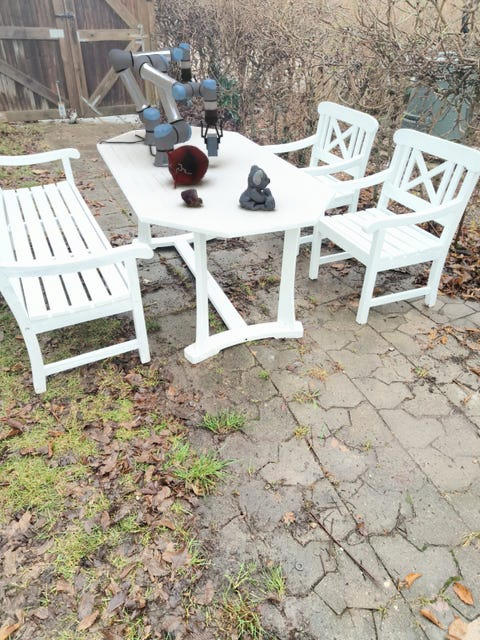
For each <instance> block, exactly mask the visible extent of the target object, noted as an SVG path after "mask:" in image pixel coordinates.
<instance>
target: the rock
mask: <svg viewBox="0 0 480 640" xmlns="http://www.w3.org/2000/svg"><path fill="white" fill-rule="evenodd" d="M180 197H181V200H182V201H183V202H184V203H185V205H187V206H189V207H191V206H192V207H193V206H201V205H203V204H204V202H203V199H202V197H199V195H198V190H197V189H196V188H188V189H185V190H181V192H180Z"/></svg>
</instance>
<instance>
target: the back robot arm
mask: <svg viewBox="0 0 480 640" xmlns="http://www.w3.org/2000/svg"><path fill="white" fill-rule="evenodd" d="M148 54H162V55H163V56H164V57H165V58H166V59H167V61H168V62H179V63H180V75H179V74H177V76H176V79H175V80H176V81H178V82H180V83H182V84H183V83H191V82H198V79H197V78H196V77H197V76H196V75H195V74H193V75H192V68H191V67H192V66H191V65H192V64H191V48H190V44H189V43H179V44H178V46H177V47H176V46H173V47H172V46H166V47H164V48H163V49H153V50H144V51H132V50H123V49H121V48H113V49H111V50H110V51H109V52H108V56H107V60H108V63H109V64H110V65H111V67H112V68H113V70H114V72H115V74H116V75H118V76H119V78H120V79H121V81H122V83H123V84H124V87H125V88H126V90H127V92H128V94H129V96H130V98H131V100H132V102H133V104H134V105H135V107H136V108H135V111H136V113H137V115H138V119H139V121H140V122H141V123H142V124H143V125H144V130H145V131H144V132H145V134H144V138H145V140H144V139H141V140H135V141H106V140H102V141H100V142H99V145H101V144H103V143H105V144H136V143H137V144H138V143H142V142H144V143H143V144H144V145H145V146H150V145H151V146H156V145H155V136H154V128H155V127H156V126H158V125H161V124H162V123H161V114H160V111H159V109H157V108H154V107H152V105H151V104H150V102H148V101H147V99H146V98H145V96H144V94H143V91H142V90H141V88H140V86H139V84H138V82H137V80H136V78H135V77H134V75H133V72H132V71H131V68H134V61H135V59H136V58H137V57H138V56H140V55H148ZM180 79H181V81H179V80H180ZM192 79H193V80H194V81H193V80H192ZM195 100H198V97H195ZM149 144H150V145H149Z"/></svg>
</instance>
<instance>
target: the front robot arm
mask: <svg viewBox="0 0 480 640" xmlns="http://www.w3.org/2000/svg"><path fill="white" fill-rule="evenodd" d="M169 67H170V65H169V61H167V59H166V58H165V57H164V56H163V55H162V54H148V55H140V56H138V57H137V58H136V59H135V61H134V67H133V70H134V72H135V74H136V75H137V76H138V77H139V78H140V79H143V80H144V81H147V80H148V81H149V82H151V83H153V84H154V87H155V88H156V91H157V94H158V97H159V100H160V102H161V105H162V108H163V111H164V113H165V116H166V119H167V123H161V125H158V126H156V127H155V128H154V136H155V145H154V146H155V154H154V153H153V151H152V145H150V144H149V145H148V146H149V152H150V154H151V155H152V156H153V157H154V165H155V166H157V167H163V168H164V167H165V168H168V155H167V153H166V151H165V149H167V150H168V152H169V153H171V152H172V151H173V150H175V145H179V144H185V143H186V142H188V141H190V140H191V138H192V135H193V131H192V126H191V125H190V123H189V122H186V121H185V118H184V117H183V116H181V114H180V111H179V108H178V105H177V103H176V101H183V100H187V99H192V98H196V97H197V98H198V97H199V98H203V104H204V105H203V106H204V118H203V119H200V121H199V123H200V127H201V128H200V138H201V139H203V143H204V144H205V148H206V151H208V148H207V134H208V131H209V128H210V127H211V126H212V127H214V129H215V133H217V147H218V151H219V150H220V147H219V144H221V139H222V138H224V132H223V119H221V118H219V117H218V109H217V108H218V97H217V96H218V95H217V94H218V93H217V81H216V80H215V79H213V78H211V79H210V78H207V79H204V80H203V82H195V81H193V82H188V83H183V82H182V83H180V82H181V81H179V80H178V81H176V80H177V79H174V78H173V77H171V76H169V71H170V70H169ZM217 123H218V124H219V128H220V132H219V128H218V125H217ZM204 124H206V128H205V131H204ZM135 136H136V137H138V138H140V139H141V140H145V137H143V136H140V135H138V134H135Z"/></svg>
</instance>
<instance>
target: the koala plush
mask: <svg viewBox="0 0 480 640" xmlns="http://www.w3.org/2000/svg"><path fill="white" fill-rule="evenodd" d="M270 183H271V178H269V176H268V175H267V173H266V172H265V170H264V169H263V168H261V167H259V165H257V164H253V165H250V170H249V173H248V176H247V188H246V189H245V190H244V191H243V192H242V193H241V194H240V197H239V199H238V203H239V204H240V206H241V207H242V208H246V209H247V210H252V211H255V210H261V211H272V210H274V209H275V208H276V200H275V198H274V196H273V194H272V191H271V188H270V187H268V186H269V185H270Z"/></svg>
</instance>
